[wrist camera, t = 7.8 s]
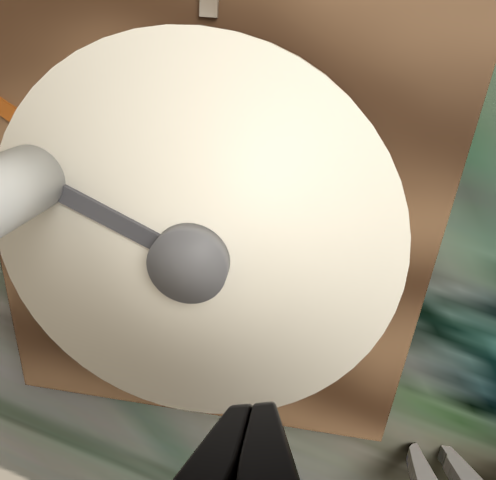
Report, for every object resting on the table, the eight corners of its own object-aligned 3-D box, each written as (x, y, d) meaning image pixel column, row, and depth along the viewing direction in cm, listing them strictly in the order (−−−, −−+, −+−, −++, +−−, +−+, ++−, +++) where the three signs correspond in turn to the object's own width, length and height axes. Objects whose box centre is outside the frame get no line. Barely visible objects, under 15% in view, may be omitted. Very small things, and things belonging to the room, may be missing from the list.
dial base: (376, 417, 22) (381, 445, 21) (41, 365, 24) (23, 387, 22) (500, -15, 14) (524, -23, 12) (-32, -51, 15) (-69, -63, 14)
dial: (495, 171, 15) (623, 254, 9) (274, 434, 22) (262, 582, 16) (81, -72, 13) (-102, -170, 7) (-16, 293, 20) (-152, 396, 14)
